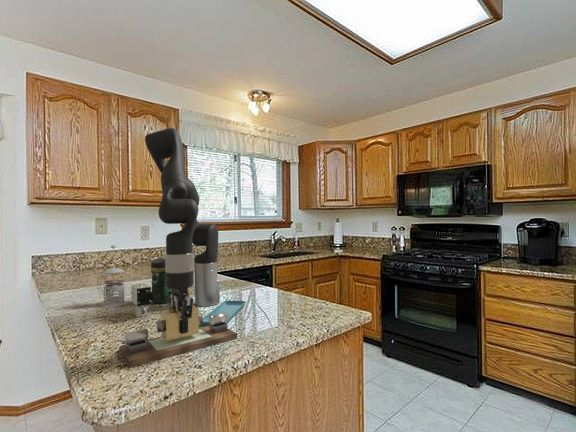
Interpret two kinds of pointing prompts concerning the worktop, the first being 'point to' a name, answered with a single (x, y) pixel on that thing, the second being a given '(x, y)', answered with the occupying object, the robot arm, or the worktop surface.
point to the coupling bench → (174, 342)
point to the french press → (113, 288)
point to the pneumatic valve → (141, 298)
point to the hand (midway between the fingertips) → (180, 330)
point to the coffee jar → (159, 281)
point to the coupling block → (171, 324)
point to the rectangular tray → (225, 310)
